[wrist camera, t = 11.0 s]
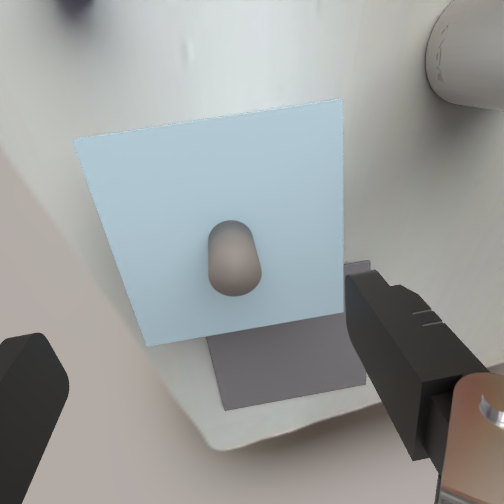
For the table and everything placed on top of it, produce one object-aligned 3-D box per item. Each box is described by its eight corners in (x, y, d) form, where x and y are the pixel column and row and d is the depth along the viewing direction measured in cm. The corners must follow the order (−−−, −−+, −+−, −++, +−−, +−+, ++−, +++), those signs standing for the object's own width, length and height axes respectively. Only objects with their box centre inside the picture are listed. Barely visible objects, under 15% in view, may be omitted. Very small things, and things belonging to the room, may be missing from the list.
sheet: (339, 98, 24) (374, 106, 19) (340, 307, 33) (365, 351, 27) (75, 138, 23) (38, 158, 18) (148, 340, 32) (136, 392, 27)
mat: (368, 260, 40) (370, 262, 39) (364, 381, 49) (365, 384, 49) (195, 290, 39) (194, 292, 39) (224, 407, 49) (224, 410, 48)
